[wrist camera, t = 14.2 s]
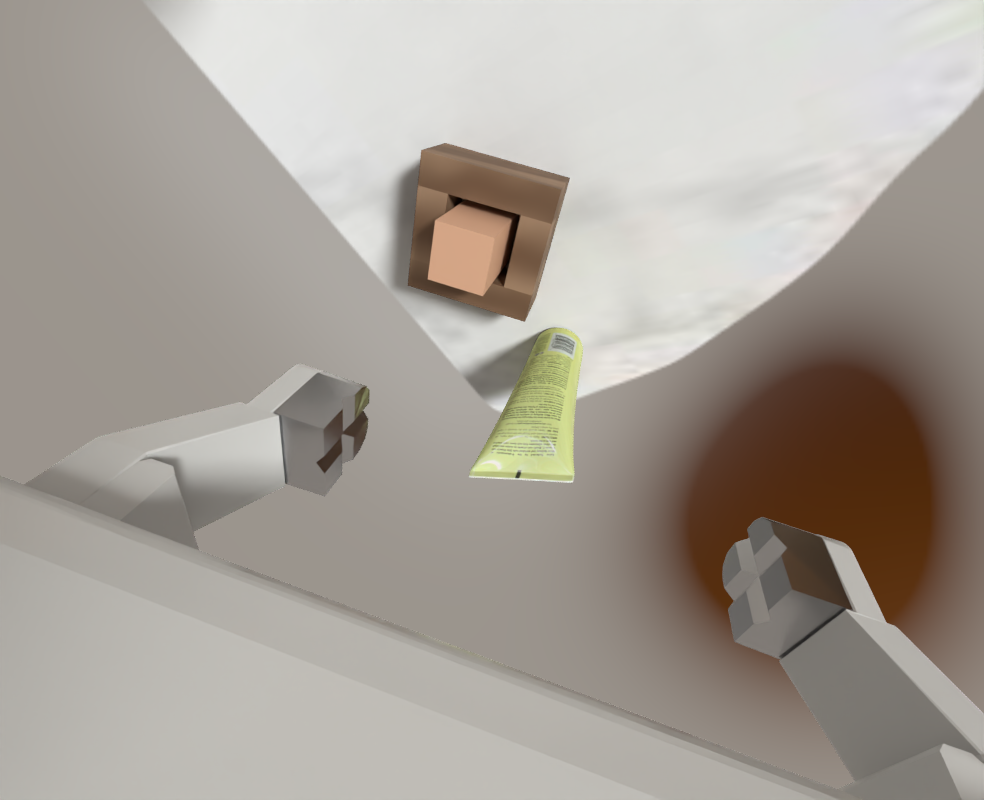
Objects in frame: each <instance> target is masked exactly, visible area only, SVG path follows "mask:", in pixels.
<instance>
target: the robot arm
mask: <svg viewBox="0 0 984 800" xmlns="http://www.w3.org/2000/svg"><path fill="white" fill-rule="evenodd" d="M368 403H369V389H368V388H367V386H365V385H362V384H359V383H356V382H353V381H350V380H348V379H345V378H342V377H339V376H336V375H334V374H331V373H328V372H325V371H321V370H318V369H316V368H313V367H310V366H307V365H304V364H297V365H294V366H293V367H292V368H290V369H289V370H288V371H287V372H286V373H284V374H283V375H282V376H281V377H279V378H278V379H277V380H276V381H274V382H273V383H272V384H271V385H269V386H268V387H267V388H266V389H264V390H263V391H262V392H261V393H259V394H258V395H257V396H256V397H255V398H253V399H252V400H251V401H250V402H248V403H247V404H244V403H241V402H237V403H233V404H229V405H225V406H221V407H217V408H213V409H208V410H204V411H200V412H197V413H192V414H189V415H185V416H180V417H176V418H172V419H168V420H164V421H160V422H156V423H152V424H148V425H143V426H139V427H135V428H131V429H128V430H123V431H119V432H115V433H111V434H107V435H103V436H99V437H97V438H95V439H94V440H92V441H91V442H89V443H88V444H86V445H84V446H83V447H81V448H80V449H78V450H77V451H75V452H74V453H72V454H70V455H69V456H67V457H66V458H64V459H63V460H61V461H60V462H58V463H57V464H55V465H53V466H52V467H50V468H49V469H47V470H46V471H44V472H43V473H41V474H40V475H38V476H37V477H35V478H34V479H32V480H30V481H29V482H27V483H26V484H21V483H18V482H16V481H13V480H10V479H8V478H5V477H2V476H0V800H984V714H983V713H982V712H981V711H980V710H979V709H978V708H977V707H976V706H975V705H974V704H973V703H972V702H971V701H970V700H969V699H968V698H967V697H966V696H965V695H964V694H963V693H962V692H961V691H960V690H959V689H958V688H957V687H956V686H955V685H954V684H953V683H952V682H951V681H950V680H949V679H948V678H947V677H946V676H945V675H944V674H943V673H942V672H941V671H940V670H939V669H938V668H937V667H936V666H935V665H934V664H933V663H932V662H931V661H930V660H929V659H928V658H927V657H926V656H925V655H924V654H923V653H922V652H921V651H920V650H919V649H918V648H917V647H916V646H915V645H914V644H913V643H912V642H911V641H910V640H909V639H908V638H907V637H906V636H905V635H904V634H903V633H902V632H901V631H900V630H899V629H898V628H897V627H896V626H893V625H890V624H888V623H886V621H885V619H884V617H883V615H882V613H881V611H880V609H879V606H878V604H877V602H876V600H875V598H874V596H873V594H872V592H871V590H870V588H869V585H868V583H867V582H866V579H865V577H864V575H863V573H862V571H861V569H860V567H859V565H858V563H857V560H856V558H855V556H854V554H853V552H852V550H851V549H850V548H849V547H848V546H847V545H846V544H845V543H843V542H840V541H837V540H834V539H830V538H827V537H824V536H821V535H817V534H812V533H809V532H806V531H803V530H800V529H797V528H794V527H791V526H788V525H785V524H782V523H779V522H775V521H772V520H769V519H766V518H763V517H762V518H759V519H757V520H756V521H754V522H753V523H752V524H751V526H750V527H749V528H748V534H749V539H746V540H742V541H739V542H736V543H735V544H734V545H733V546H732V548H731V549H730V550H729V551H728V553H727V555H726V558H725V562H724V564H723V582H724V588H725V589H726V591H727V592H728V593H729V595H730V596H731V597H732V599H733V600H734V602H733V603H732V605H731V606H730V607H729V608H728V610H729V615H730V621H731V626H732V632H733V637H734V641H735V642H736V643H739V644H742V645H744V646H747V647H749V648H752V649H755V650H757V651H760V652H763V653H765V654H768V655H770V656H773V657H776V658H778V659H781V660H780V661H779V662H780V663H781V665H782V667H783V668H784V670H785V671H786V673H787V675H788V676H789V678H790V679H791V681H792V682H793V684H794V686H795V687H796V689H797V690H798V692H799V693H800V695H801V697H802V698H803V700H804V701H805V703H806V705H807V706H808V708H809V709H810V711H811V713H812V714H813V716H814V717H815V719H816V720H817V722H818V724H819V725H820V727H821V728H822V730H823V731H824V733H825V735H826V736H827V738H828V739H829V741H830V743H831V744H832V746H833V747H834V749H835V750H836V752H837V754H838V755H839V757H840V758H841V760H842V762H843V763H844V765H845V766H846V768H847V769H848V771H849V773H850V774H851V776H852V777H853V779H854V780H855V782H853V783H850V784H848V785H846V786H843V787H841V788H839V789H835V788H833V787H830V786H827V785H825V784H822V783H819V782H817V781H814V780H811V779H809V778H806V777H803V776H801V775H798V774H795V773H793V772H790V771H787V770H785V769H782V768H779V767H777V766H774V765H771V764H769V763H766V762H763V761H761V760H758V759H755V758H753V757H750V756H747V755H744V754H742V753H739V752H737V751H734V750H731V749H728V748H726V747H723V746H720V745H718V744H715V743H712V742H710V741H707V740H705V739H702V738H699V737H697V736H693V735H691V734H689V733H686V732H683V731H680V730H678V729H675V728H672V727H670V726H667V725H664V724H662V723H659V722H656V721H654V720H651V719H648V718H646V717H643V716H640V715H638V714H635V713H632V712H630V711H627V710H624V709H622V708H619V707H616V706H614V705H611V704H608V703H606V702H603V701H600V700H597V699H595V698H592V697H590V696H587V695H584V694H582V693H579V692H576V691H574V690H571V689H568V688H565V687H563V686H560V685H558V684H555V683H552V682H550V681H547V680H544V679H542V678H539V677H536V676H533V675H531V674H528V673H525V672H523V671H520V670H517V669H515V668H512V667H509V666H506V665H504V664H501V663H499V662H496V661H493V660H490V659H488V658H485V657H483V656H480V655H477V654H475V653H472V652H469V651H467V650H464V649H461V648H459V647H456V646H453V645H451V644H448V643H445V642H442V641H439V640H437V639H434V638H432V637H429V636H426V635H424V634H421V633H418V632H416V631H413V630H410V629H408V628H405V627H402V626H400V625H397V624H394V623H392V622H389V621H386V620H383V619H381V618H378V617H376V616H373V615H370V614H368V613H365V612H362V611H360V610H357V609H354V608H351V607H349V606H346V605H344V604H341V603H338V602H336V601H333V600H330V599H328V598H325V597H322V596H320V595H317V594H314V593H312V592H309V591H306V590H303V589H301V588H298V587H296V586H293V585H290V584H288V583H285V582H282V581H280V580H277V579H274V578H271V577H269V576H266V575H263V574H261V573H258V572H255V571H253V570H250V569H248V568H245V567H242V566H239V565H237V564H234V563H231V562H229V561H226V560H224V559H221V558H218V557H216V556H213V555H210V554H208V553H205V552H202V551H200V550H199V549H198V545H197V542H196V539H195V536H194V531H196V530H198V529H200V528H202V527H204V526H206V525H208V524H210V523H212V522H214V521H216V520H218V519H220V518H222V517H224V516H226V515H228V514H230V513H232V512H234V511H236V510H238V509H240V508H242V507H244V506H246V505H248V504H250V503H252V502H254V501H256V500H258V499H260V498H262V497H264V496H266V495H268V494H270V493H272V492H274V491H276V490H278V489H280V488H282V487H284V486H285V484H288V485H291V486H294V487H297V488H301V489H304V490H307V491H310V492H313V493H316V494H319V495H322V496H326V494H327V493H328V492H329V490H330V489H331V488H332V486H333V485H334V484H335V482H336V481H337V480H338V479H339V477H340V476H341V475H342V464H343V463H345V462H348V461H350V460H353V459H354V457H355V456H356V454H357V453H358V451H359V450H360V448H361V446H362V444H363V442H364V440H365V436H366V433H367V428H368V418H367V416H366V414H365V413H364V411H363V410H364V408H365V407H366V406H367V405H368Z"/></svg>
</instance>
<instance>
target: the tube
mask: <svg viewBox="0 0 984 800" xmlns="http://www.w3.org/2000/svg"><path fill="white" fill-rule="evenodd" d="M582 354H583V347H582V343H581V341H580V339H579V338H578V337H577V336H576V335H575V334H574V333H573V332H571V331H569V330H567V329H564V328H551V329H548V330H546V331H544V332H543V333H541V334H540V335H539V337H538V338H537V340H536V342H535V344H534V347H533V349H532V351H531V353H530V356H529V358H528V360H527V362H526V365H525V367H524V369H523V371H522V373H521V375H520V377H519V379H518V381H517V384H516V386H515V388H514V390H513V392H512V394H511V396H510V398H509V400H508V402H507V404H506V406H505V408H504V410H503V412H502V414H501V416H500V418H499V420H498V422H497V424H496V426H495V427H494V429H493V431H492V433H491V435H490V437H489V439H488V440H487V442H486V445H485V446H484V448H483V450H482V451H481V453H480V455H479V456H478V458H477V460H476V462H475V464H474V465H473V467H472V468H471V471H470V473H469V478H473V477H474V478H496V479H518V480H534V481H550V482H566V483H567V482H569V483H572V482H573V480H574V462H573V435H574V434H573V433H574V417H575V404H576V395H577V387H578V380H579V373H580V366H581V361H582Z"/></svg>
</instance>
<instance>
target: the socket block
mask: <svg viewBox="0 0 984 800" xmlns="http://www.w3.org/2000/svg"><path fill="white" fill-rule="evenodd" d="M569 179H570V178H568V177H564V176H561V175H557V174H554V173H550V172H546V171H543V170H539V169H536V168H532V167H529V166H525V165H522V164H518V163H514V162H511V161H507V160H504V159H500V158H497V157H493V156H489V155H486V154H482V153H479V152H475V151H472V150H468V149H465V148H461V147H457V146H454V145H450V144H447V143H444V144H441V145H437V146H434V147H431V148H427V149H424V150H421V160H420V170H419V179H418V189H417V199H416V209H415V219H414V229H413V239H412V248H411V258H410V268H409V278H408V286H411V287H415V288H418V289H421V290H424V291H427V292H431V293H434V294H437V295H440V296H444V297H447V298H450V299H453V300H456V301H460V302H463V303H466V304H469V305H473V306H476V307H479V308H482V309H485V310H489V311H492V312H495V313H498V314H502V315H505V316H508V317H511V318H514V319H518V320H521V321H524V322H525V320H526V318H527V316H528V313H529V311H530V309H531V307H532V305H533V303H534V300H535V298H536V295H537V291H538V288H539V284H540V281H541V277H542V274H543V270H544V267H545V263H546V260H547V256H548V253H549V249H550V246H551V242H552V239H553V235H554V232H555V228H556V225H557V221H558V218H559V214H560V211H561V207H562V204H563V200H564V196H565V193H566V189H567V186H568V182H569ZM466 199H467V200H470V201H474V202H477V203H481V204H484V205H488V206H491V207H494V208H498V209H501V210H505V211H508V212H512V213H515V214H519V218H518V222H517V227H516V231H515V235H514V240H513V244H512V248H511V252H510V257H509V261H508V262H507V263H506V265H505V266H504V268H503V269H502V270H501V272H500V273H499V274H498V276H497V277H496V279H495V280H494V281H493V283H492V284H491V286H490V287H489V288H488V290H487V291H486V293H485V294H484V295H483V296H480V295H477V294H474V293H471V292H467V291H464V290H461V289H458V288H454V287H451V286H448V285H445V284H441V283H438V282H435V281H432V280H428V272H429V265H430V257H431V249H432V241H433V233H434V226H435V220H436V219H438V218H439V217H441V216H442V215H444V214H445V213H447V212H448V211H450V210H451V209H453V208H454V207H456V206H457V205H459V204H460V203H462V202H463V201H465V200H466Z"/></svg>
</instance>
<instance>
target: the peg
mask: <svg viewBox="0 0 984 800" xmlns="http://www.w3.org/2000/svg"><path fill="white" fill-rule="evenodd" d="M518 218H519V214H515V213H512V212H508V211H505V210H501V209H498V208H494V207H491V206H488V205H484V204H481V203H477V202H474V201H470V200H467V199H466V200H465V201H463V202H462V203H460V204H459V205H457V206H456V207H454V208H453V209H451V210H450V211H448V212H447V213H445V214H444V215H442V216H441V217H439V218H438V219H436V220H435V226H434V233H433V241H432V249H431V257H430V265H429V272H428V280H432V281H435V282H438V283H441V284H445V285H448V286H451V287H454V288H458V289H461V290H464V291H467V292H471V293H474V294H477V295H480V296H483V295H484V294H485V293H486V291H487V290H488V288H489V287H490V286H491V284H492V283H493V281H494V280H495V279H496V277H497V276H498V274H499V273H500V272H501V270H502V269H503V268H504V266H505V265H506V263H507V262H508V261H509V257H510V252H511V248H512V244H513V240H514V235H515V231H516V227H517V222H518Z"/></svg>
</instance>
